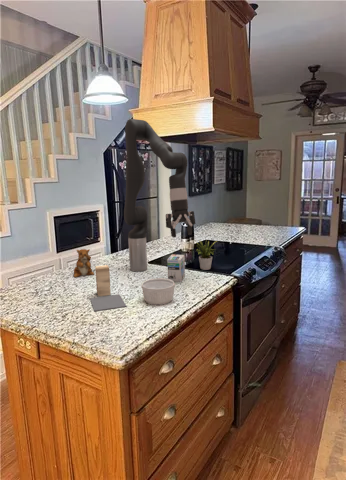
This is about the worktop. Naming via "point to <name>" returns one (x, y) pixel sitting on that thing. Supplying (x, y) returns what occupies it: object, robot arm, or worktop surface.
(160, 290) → the ramekin
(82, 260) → the stuffed squirrel
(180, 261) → the light bulb box
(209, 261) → the house plant
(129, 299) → the worktop surface
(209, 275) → the worktop surface
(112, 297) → the slate mat
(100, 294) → the maple block
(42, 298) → the worktop surface
